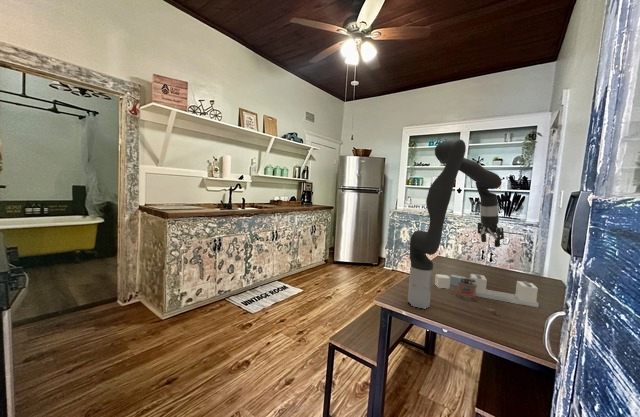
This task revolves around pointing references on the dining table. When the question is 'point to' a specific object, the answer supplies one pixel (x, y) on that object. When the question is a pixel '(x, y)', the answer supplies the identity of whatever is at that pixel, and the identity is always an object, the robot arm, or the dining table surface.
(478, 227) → the robot arm
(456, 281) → the block
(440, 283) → the block
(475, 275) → the mounted modules
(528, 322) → the dining table surface
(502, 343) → the dining table surface
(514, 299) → the rail
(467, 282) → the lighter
